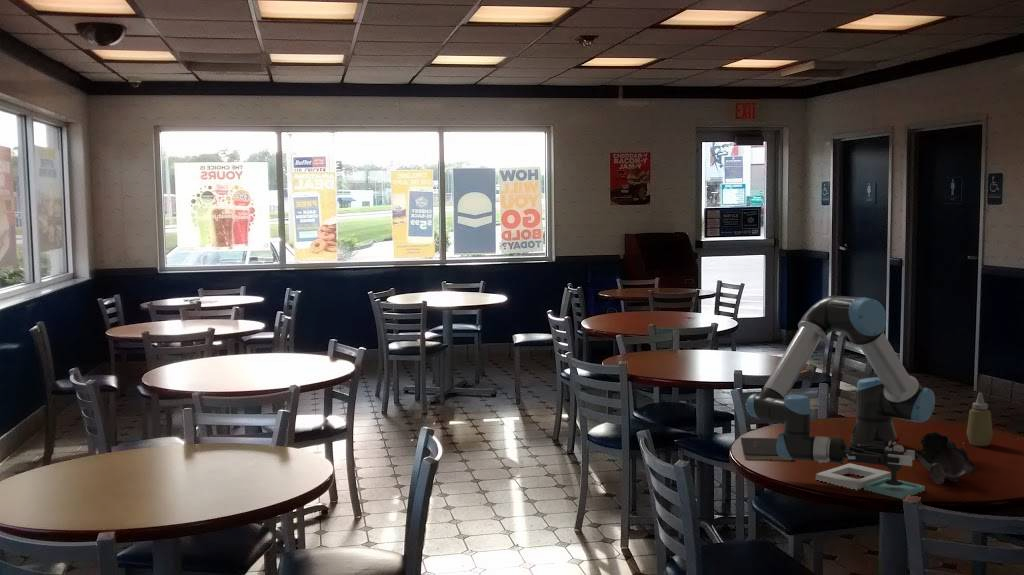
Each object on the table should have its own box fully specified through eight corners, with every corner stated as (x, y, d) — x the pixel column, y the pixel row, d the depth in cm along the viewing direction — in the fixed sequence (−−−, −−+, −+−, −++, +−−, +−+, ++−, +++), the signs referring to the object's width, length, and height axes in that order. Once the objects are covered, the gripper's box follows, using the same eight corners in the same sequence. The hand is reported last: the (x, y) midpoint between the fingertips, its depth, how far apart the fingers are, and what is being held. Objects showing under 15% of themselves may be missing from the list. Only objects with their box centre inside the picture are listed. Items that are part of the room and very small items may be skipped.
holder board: (849, 469, 298) (849, 463, 298) (890, 478, 287) (890, 472, 287) (815, 480, 287) (815, 473, 287) (857, 490, 276) (857, 483, 276)
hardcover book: (743, 461, 313) (743, 454, 313) (740, 443, 336) (740, 437, 335) (793, 462, 310) (793, 455, 310) (787, 444, 333) (787, 438, 332)
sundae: (908, 486, 271) (909, 435, 270) (884, 485, 273) (884, 434, 272) (903, 480, 278) (904, 430, 277) (879, 479, 279) (880, 429, 278)
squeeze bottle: (967, 446, 322) (968, 394, 321) (965, 441, 330) (966, 390, 328) (993, 448, 319) (994, 396, 318) (991, 442, 327) (992, 391, 325)
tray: (886, 481, 284) (886, 477, 284) (924, 490, 274) (924, 486, 274) (863, 489, 277) (863, 485, 277) (902, 499, 267) (902, 494, 267)
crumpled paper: (982, 485, 276) (948, 470, 296) (977, 436, 275) (944, 424, 295) (935, 491, 276) (905, 475, 296) (930, 442, 275) (900, 429, 295)
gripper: (835, 454, 292) (916, 462, 281) (824, 470, 275) (909, 479, 264) (835, 430, 291) (916, 438, 280) (824, 445, 275) (910, 453, 264)
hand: (913, 458), depth 272 cm, fingers closed on sundae, 6 cm apart
